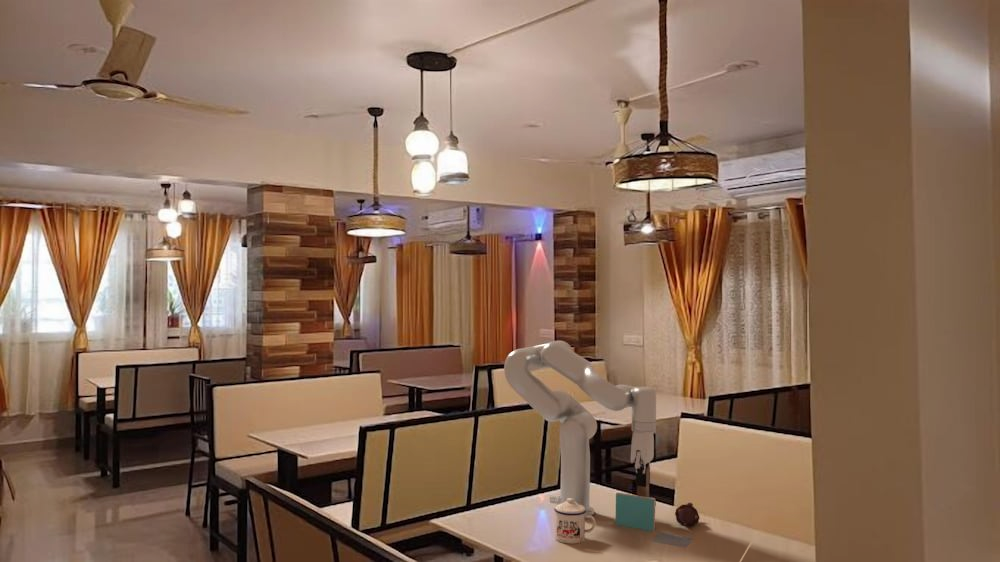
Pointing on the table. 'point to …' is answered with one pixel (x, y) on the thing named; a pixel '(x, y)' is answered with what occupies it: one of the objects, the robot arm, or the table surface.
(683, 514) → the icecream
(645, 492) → the wooden post with base
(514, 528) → the table surface
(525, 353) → the robot arm
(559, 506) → the teacup with lid
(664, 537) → the mat
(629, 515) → the tile
